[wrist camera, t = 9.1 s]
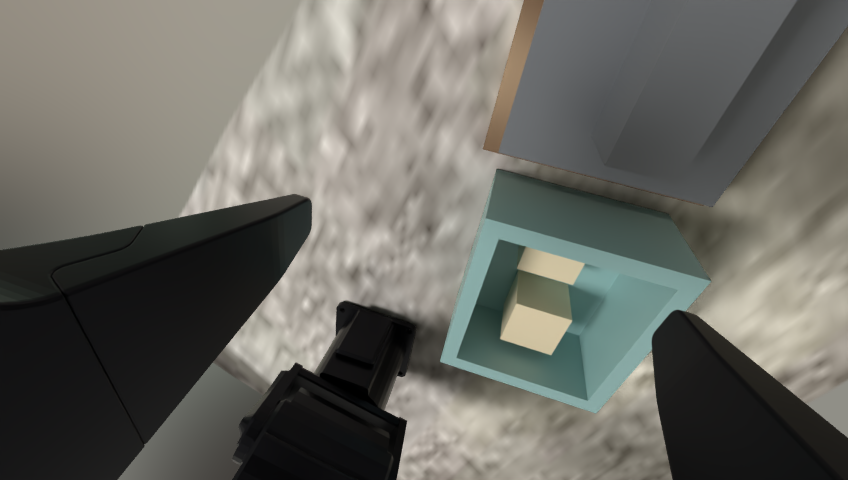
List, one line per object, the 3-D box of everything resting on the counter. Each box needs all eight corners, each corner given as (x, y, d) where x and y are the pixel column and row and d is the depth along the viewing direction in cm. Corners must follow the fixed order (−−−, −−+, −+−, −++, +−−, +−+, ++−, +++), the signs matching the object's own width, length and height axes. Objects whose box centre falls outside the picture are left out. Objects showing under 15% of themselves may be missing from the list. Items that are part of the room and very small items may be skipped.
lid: (695, 187, 17) (753, 253, 12) (501, 139, 18) (490, 183, 13) (903, -114, 11) (1159, -197, 6) (591, -160, 12) (626, -259, 7)
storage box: (584, 337, 24) (596, 413, 20) (456, 298, 25) (439, 361, 21) (668, 213, 18) (711, 281, 14) (496, 168, 19) (485, 218, 15)
